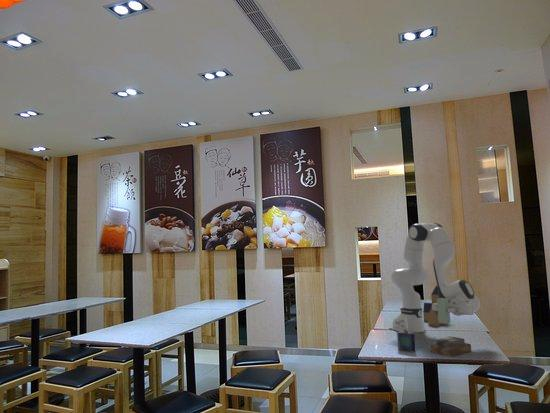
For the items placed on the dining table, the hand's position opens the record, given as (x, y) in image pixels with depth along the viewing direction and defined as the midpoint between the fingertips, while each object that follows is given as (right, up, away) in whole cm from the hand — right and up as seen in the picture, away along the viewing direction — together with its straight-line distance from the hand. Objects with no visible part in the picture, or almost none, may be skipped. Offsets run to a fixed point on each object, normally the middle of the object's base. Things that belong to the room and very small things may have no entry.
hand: (442, 309), depth 208 cm
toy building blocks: (+22, -27, +72) cm, 80 cm away
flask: (-18, -22, +2) cm, 28 cm away
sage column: (+1, -7, 0) cm, 7 cm away
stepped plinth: (+3, -20, -3) cm, 21 cm away
